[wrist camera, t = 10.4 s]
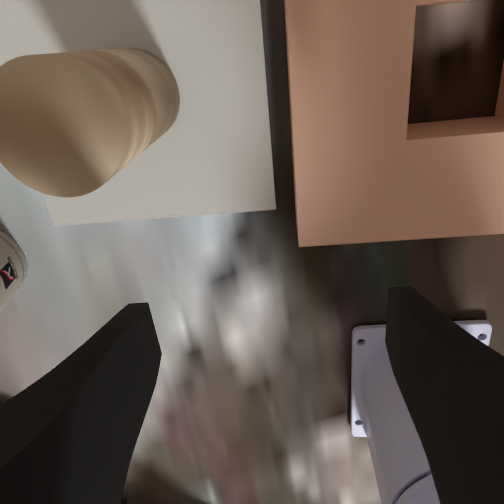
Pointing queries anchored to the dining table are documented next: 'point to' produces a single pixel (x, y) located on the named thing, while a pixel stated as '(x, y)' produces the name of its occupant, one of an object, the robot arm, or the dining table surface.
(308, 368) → the dining table surface
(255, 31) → the mat
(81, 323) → the dining table surface
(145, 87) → the plug
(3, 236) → the coffee cup
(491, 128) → the square board with hole
